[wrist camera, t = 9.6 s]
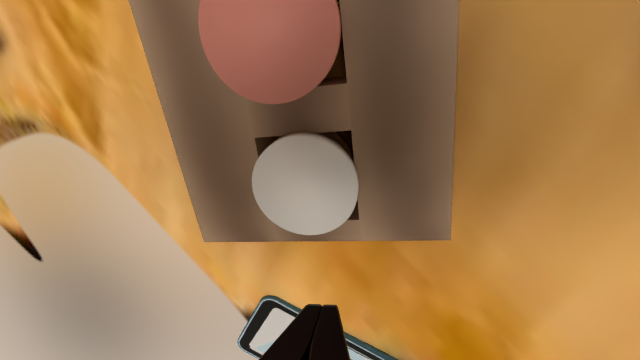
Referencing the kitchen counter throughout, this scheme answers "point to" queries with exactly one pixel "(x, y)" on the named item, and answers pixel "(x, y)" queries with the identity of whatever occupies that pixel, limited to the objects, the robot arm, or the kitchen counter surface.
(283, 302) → the smartphone
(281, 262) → the kitchen counter surface
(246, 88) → the red plug
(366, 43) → the socket board
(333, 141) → the grey plug
